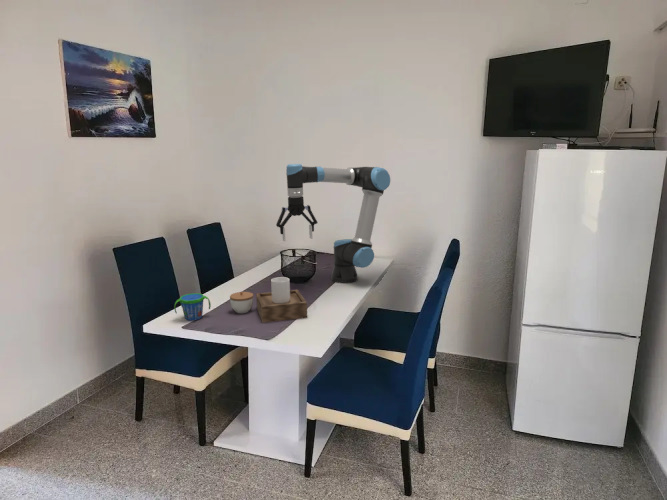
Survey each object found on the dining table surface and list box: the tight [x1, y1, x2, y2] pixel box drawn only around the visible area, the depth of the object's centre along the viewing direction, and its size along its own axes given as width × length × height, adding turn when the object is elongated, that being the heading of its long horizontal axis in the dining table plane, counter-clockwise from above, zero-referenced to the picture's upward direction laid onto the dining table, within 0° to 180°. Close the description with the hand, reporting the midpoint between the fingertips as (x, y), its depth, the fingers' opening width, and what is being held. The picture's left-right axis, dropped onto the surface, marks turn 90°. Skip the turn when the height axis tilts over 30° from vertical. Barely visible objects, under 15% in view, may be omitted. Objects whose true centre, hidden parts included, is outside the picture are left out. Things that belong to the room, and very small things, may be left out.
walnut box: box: [255, 289, 308, 323], centre depth 222 cm, size 20×20×7 cm
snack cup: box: [173, 292, 212, 322], centre depth 216 cm, size 16×10×10 cm
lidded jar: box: [229, 291, 254, 314], centre depth 225 cm, size 11×11×9 cm
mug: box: [270, 276, 291, 304], centre depth 220 cm, size 12×8×10 cm
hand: (297, 239), depth 238 cm, fingers open, 13 cm apart
